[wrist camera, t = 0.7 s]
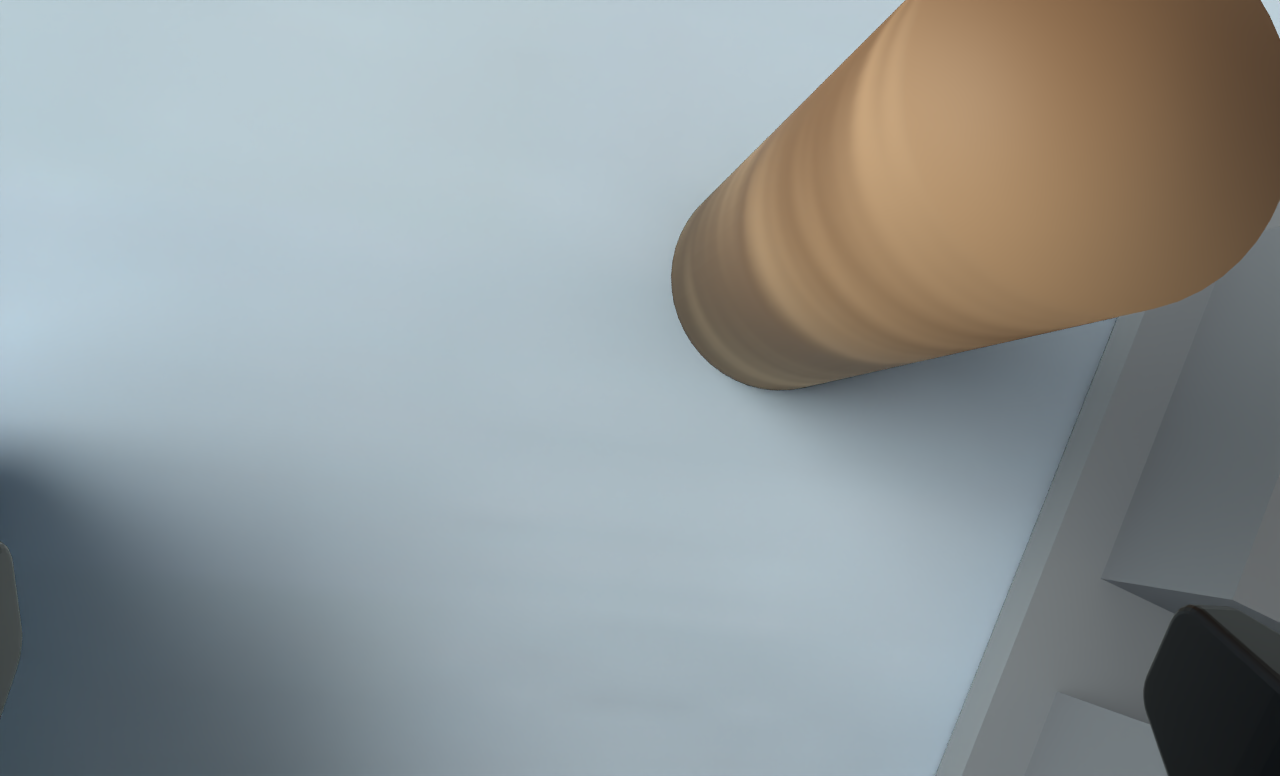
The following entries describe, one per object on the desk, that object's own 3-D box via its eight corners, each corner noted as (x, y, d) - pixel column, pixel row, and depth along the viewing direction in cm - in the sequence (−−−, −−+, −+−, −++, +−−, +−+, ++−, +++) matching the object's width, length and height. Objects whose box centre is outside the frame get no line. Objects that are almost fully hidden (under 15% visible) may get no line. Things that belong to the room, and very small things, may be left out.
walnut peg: (831, 426, 24) (1209, 384, 12) (635, 332, 24) (836, 194, 12) (914, 233, 25) (1350, 16, 13) (725, 136, 24) (1001, -180, 12)
